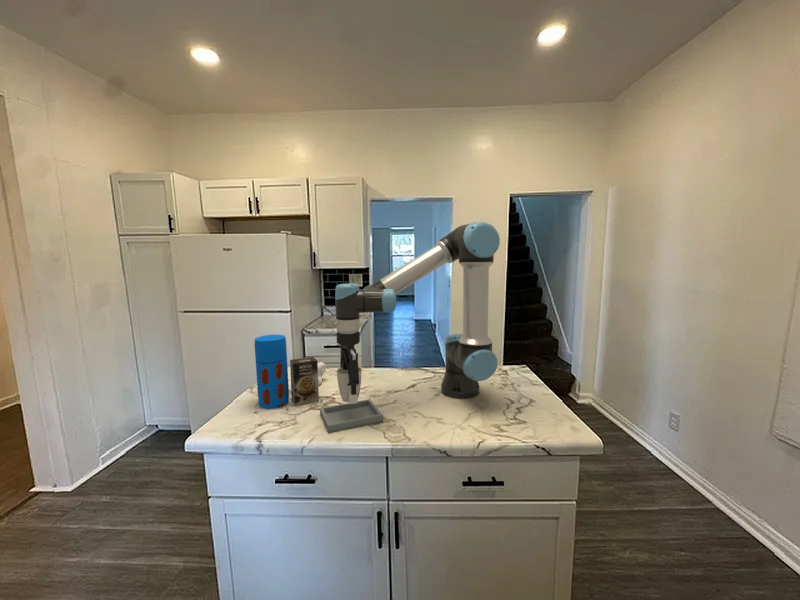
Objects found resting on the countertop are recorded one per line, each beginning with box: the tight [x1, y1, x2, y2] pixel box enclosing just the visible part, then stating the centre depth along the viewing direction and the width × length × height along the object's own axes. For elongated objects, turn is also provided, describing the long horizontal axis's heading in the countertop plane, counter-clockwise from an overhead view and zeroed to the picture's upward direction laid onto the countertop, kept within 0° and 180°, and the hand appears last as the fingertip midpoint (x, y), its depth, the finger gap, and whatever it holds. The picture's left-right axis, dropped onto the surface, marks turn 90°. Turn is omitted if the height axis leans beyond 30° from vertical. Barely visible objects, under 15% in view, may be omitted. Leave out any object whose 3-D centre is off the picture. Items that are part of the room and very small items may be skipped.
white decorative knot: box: [317, 361, 327, 386], centre depth 152 cm, size 11×12×9 cm
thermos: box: [254, 334, 290, 410], centre depth 130 cm, size 11×11×25 cm
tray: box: [319, 398, 384, 434], centre depth 119 cm, size 18×14×2 cm
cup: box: [336, 366, 362, 403], centre depth 117 cm, size 8×8×10 cm
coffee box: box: [289, 356, 320, 407], centre depth 132 cm, size 9×6×16 cm
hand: (349, 398), depth 118 cm, fingers closed on cup, 8 cm apart
